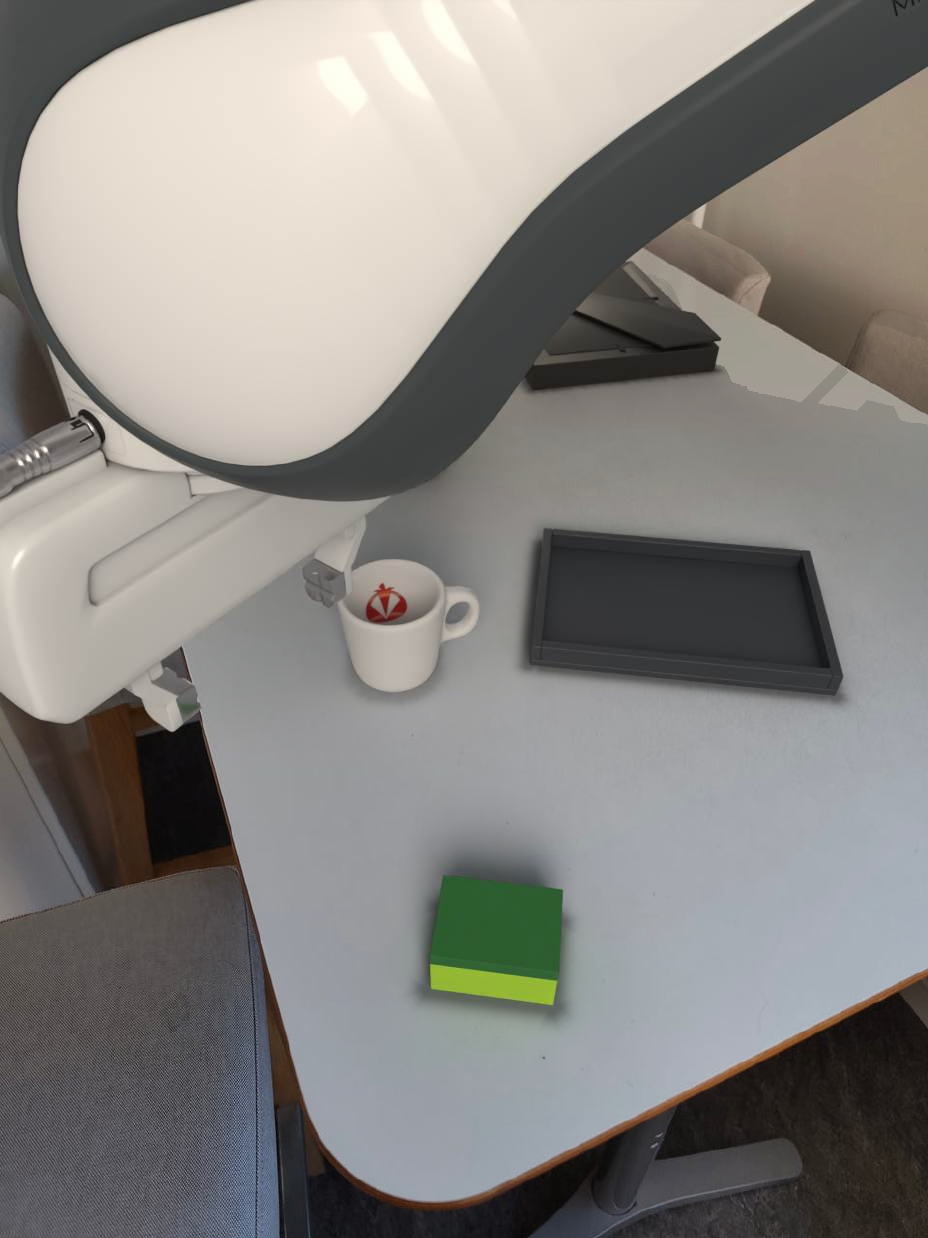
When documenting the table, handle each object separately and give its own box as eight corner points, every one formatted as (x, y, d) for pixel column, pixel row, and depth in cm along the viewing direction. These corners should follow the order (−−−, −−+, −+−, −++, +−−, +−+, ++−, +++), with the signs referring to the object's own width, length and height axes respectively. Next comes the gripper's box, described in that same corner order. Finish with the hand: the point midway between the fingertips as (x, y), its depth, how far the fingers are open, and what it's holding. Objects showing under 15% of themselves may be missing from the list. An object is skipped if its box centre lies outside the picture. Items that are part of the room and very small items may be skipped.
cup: (461, 618, 73) (462, 542, 67) (493, 684, 67) (497, 607, 62) (335, 645, 70) (325, 568, 65) (357, 716, 65) (349, 639, 59)
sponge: (557, 923, 53) (563, 889, 50) (552, 1005, 49) (559, 973, 46) (443, 909, 53) (443, 874, 51) (430, 989, 50) (429, 956, 47)
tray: (803, 568, 78) (810, 550, 77) (835, 695, 67) (844, 677, 65) (542, 545, 80) (543, 527, 79) (529, 665, 69) (531, 646, 67)
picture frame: (714, 370, 106) (629, 282, 127) (721, 338, 104) (633, 252, 124) (532, 390, 102) (475, 295, 123) (535, 356, 99) (475, 265, 120)
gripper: (-38, 546, 22) (109, 850, 31) (448, 290, 34) (449, 564, 43) (-162, 464, 25) (7, 767, 34) (330, 254, 37) (354, 519, 46)
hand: (258, 651), depth 39 cm, fingers open, 8 cm apart
